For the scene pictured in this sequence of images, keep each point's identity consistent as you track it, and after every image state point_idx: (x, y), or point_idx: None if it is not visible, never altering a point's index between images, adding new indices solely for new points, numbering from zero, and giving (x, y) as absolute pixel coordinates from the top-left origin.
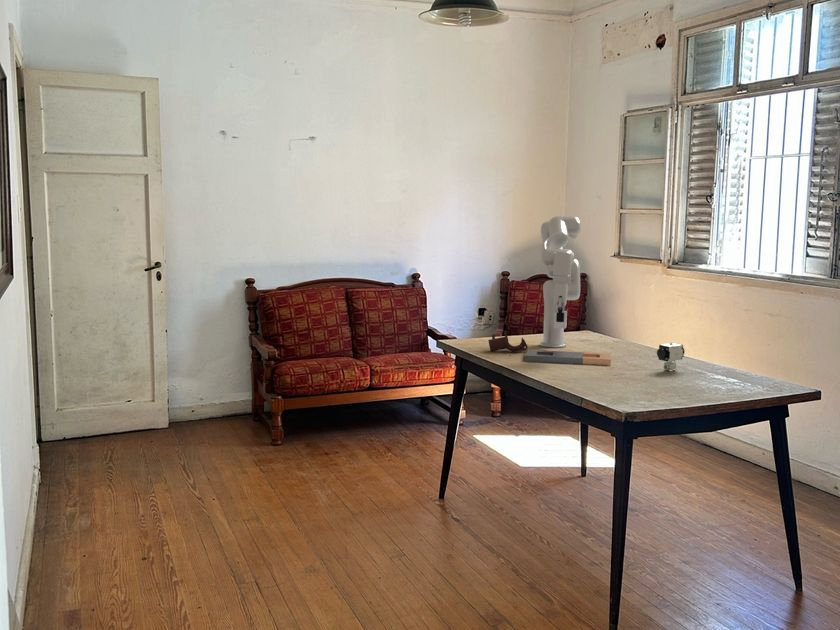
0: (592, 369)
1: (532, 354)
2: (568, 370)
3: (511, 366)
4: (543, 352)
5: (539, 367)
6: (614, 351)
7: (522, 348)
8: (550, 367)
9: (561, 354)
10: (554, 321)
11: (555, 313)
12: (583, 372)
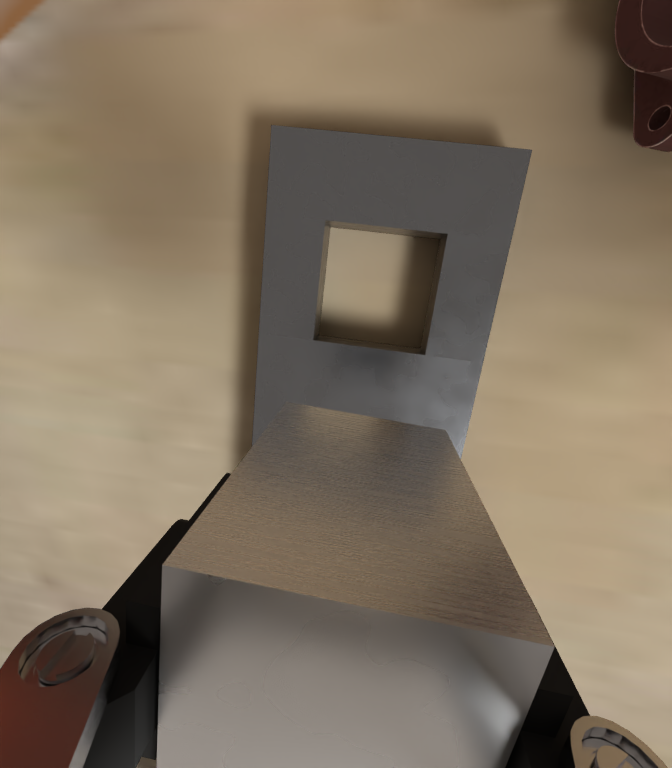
0: (141, 514)
1: (323, 186)
2: (83, 398)
3: (91, 33)
4: (438, 281)
5: (113, 239)
6: (631, 699)
7: (648, 99)
8: (131, 307)
9: (352, 401)
10: (257, 443)
11: (182, 559)
12: (61, 464)
